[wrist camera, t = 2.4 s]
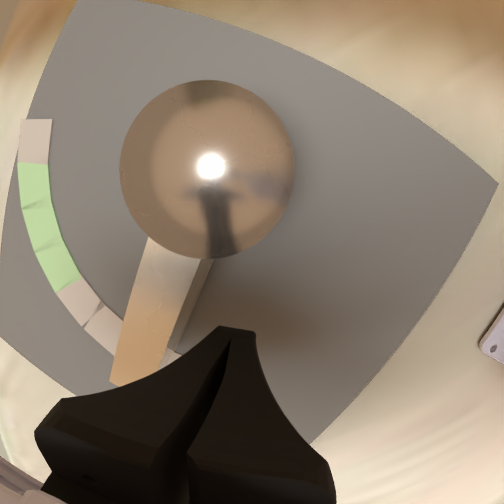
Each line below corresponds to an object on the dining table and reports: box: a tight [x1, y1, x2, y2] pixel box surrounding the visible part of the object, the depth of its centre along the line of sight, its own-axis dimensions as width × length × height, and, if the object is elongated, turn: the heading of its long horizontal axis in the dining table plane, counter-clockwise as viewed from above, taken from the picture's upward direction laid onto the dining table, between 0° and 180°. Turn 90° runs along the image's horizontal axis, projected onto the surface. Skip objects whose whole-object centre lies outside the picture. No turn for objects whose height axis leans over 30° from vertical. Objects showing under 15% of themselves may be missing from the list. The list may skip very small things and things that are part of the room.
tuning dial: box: [109, 80, 295, 387], centre depth 11 cm, size 13×4×4 cm, turn 156°
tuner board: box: [0, 0, 498, 444], centre depth 14 cm, size 21×22×1 cm
